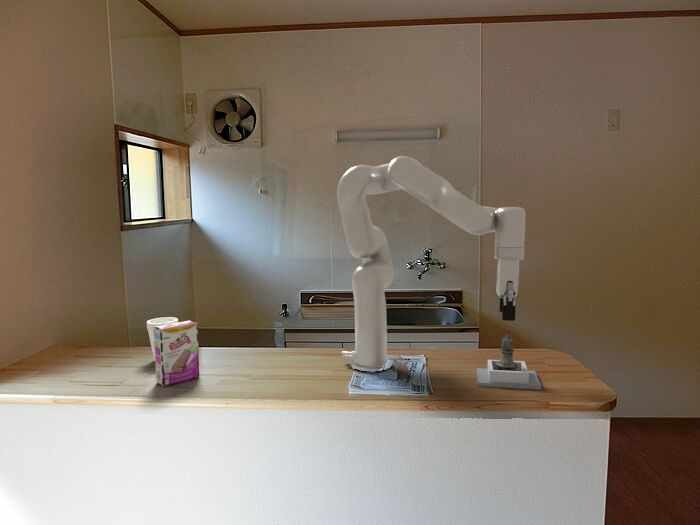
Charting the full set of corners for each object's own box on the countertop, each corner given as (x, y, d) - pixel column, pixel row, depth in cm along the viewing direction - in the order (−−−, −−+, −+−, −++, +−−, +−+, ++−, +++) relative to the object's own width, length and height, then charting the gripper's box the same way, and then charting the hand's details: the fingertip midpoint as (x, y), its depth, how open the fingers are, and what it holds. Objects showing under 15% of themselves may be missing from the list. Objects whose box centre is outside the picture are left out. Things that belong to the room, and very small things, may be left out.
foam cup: (142, 362, 163) (140, 322, 161) (163, 354, 171) (161, 316, 170) (166, 365, 159) (163, 324, 158) (186, 357, 168) (184, 318, 166)
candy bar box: (163, 388, 140) (159, 329, 138) (155, 383, 144) (152, 326, 142) (201, 377, 148) (198, 322, 146) (192, 373, 151) (189, 319, 149)
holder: (477, 386, 137) (478, 371, 136) (476, 371, 149) (476, 358, 148) (541, 389, 133) (541, 374, 133) (534, 374, 145) (535, 360, 145)
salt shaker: (518, 380, 137) (519, 337, 136) (496, 379, 139) (496, 336, 137) (516, 373, 143) (517, 331, 142) (494, 372, 144) (495, 330, 143)
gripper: (492, 250, 146) (490, 308, 148) (496, 256, 129) (494, 323, 131) (520, 250, 144) (517, 310, 147) (528, 257, 128) (525, 324, 130)
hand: (506, 316), depth 139 cm, fingers open, 9 cm apart
